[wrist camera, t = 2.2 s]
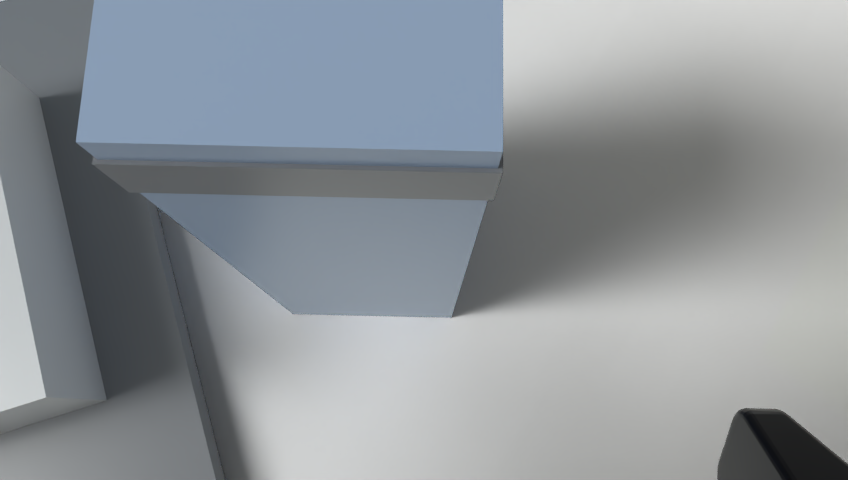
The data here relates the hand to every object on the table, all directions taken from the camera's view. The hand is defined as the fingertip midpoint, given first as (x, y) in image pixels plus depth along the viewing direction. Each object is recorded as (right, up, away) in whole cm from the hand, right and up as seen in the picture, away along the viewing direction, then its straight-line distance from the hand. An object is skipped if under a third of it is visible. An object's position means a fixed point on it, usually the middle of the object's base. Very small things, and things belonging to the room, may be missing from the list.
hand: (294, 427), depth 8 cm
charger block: (0, +2, +12) cm, 12 cm away
